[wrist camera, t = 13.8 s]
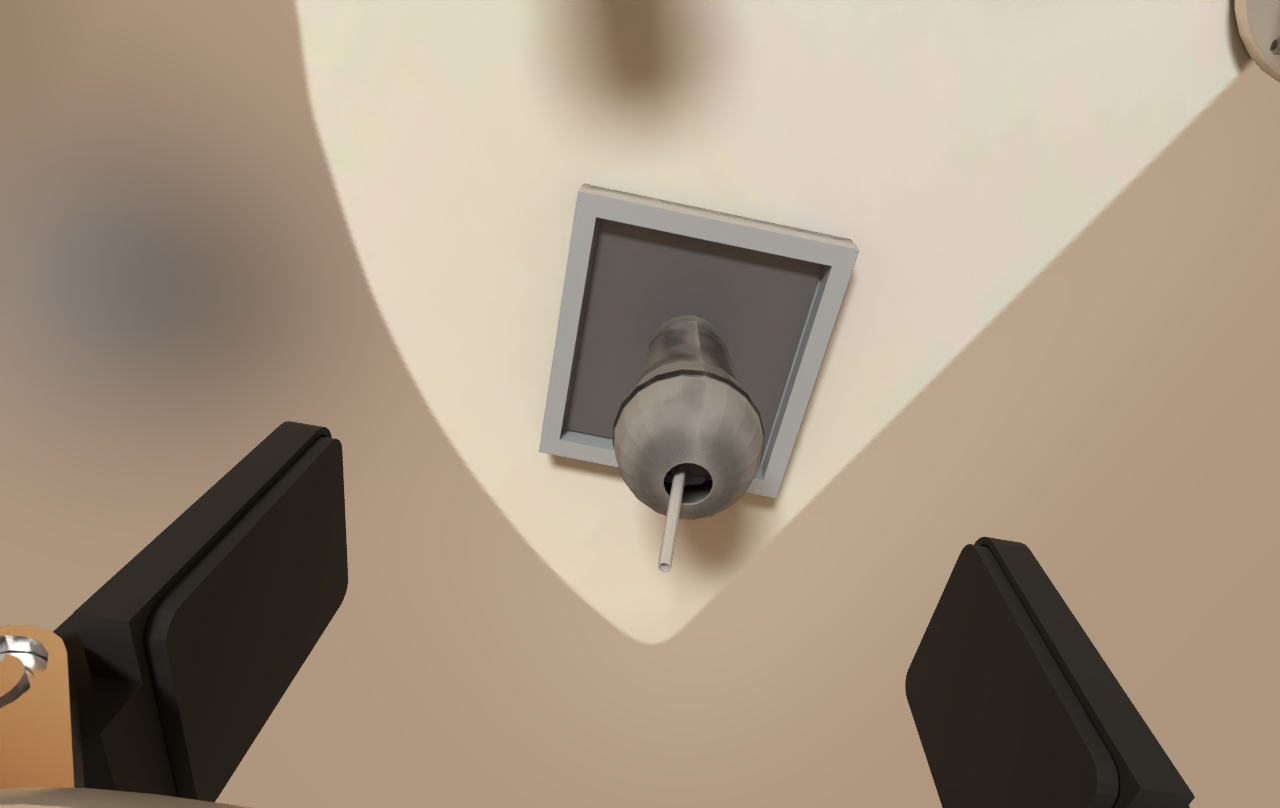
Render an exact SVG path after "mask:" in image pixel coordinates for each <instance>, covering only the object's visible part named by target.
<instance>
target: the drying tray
mask: <svg viewBox="0 0 1280 808" xmlns="http://www.w3.org/2000/svg"><path fill="white" fill-rule="evenodd" d="M858 253H859V249H858V248H857V246H856V245H855V244H854V243H853V242H852V241H851V240H850V239H846V238H841V237H836V236H832V235H827V234H822V233H817V232H813V231H808V230H803V229H798V228H793V227H789V226H784V225H779V224H774V223H770V222H765V221H760V220H755V219H750V218H746V217H741V216H736V215H731V214H727V213H722V212H717V211H712V210H707V209H703V208H698V207H693V206H688V205H684V204H679V203H674V202H669V201H664V200H660V199H655V198H650V197H645V196H641V195H636V194H631V193H626V192H621V191H617V190H612V189H607V188H602V187H598V186H593V185H588V184H583V185H582V187H581V188H580V189H579V191H578V195H577V202H576V208H575V215H574V222H573V228H572V235H571V242H570V248H569V255H568V262H567V268H566V275H565V282H564V288H563V295H562V302H561V308H560V315H559V322H558V328H557V335H556V342H555V348H554V355H553V362H552V368H551V375H550V382H549V388H548V395H547V402H546V408H545V415H544V422H543V429H542V435H541V442H540V449H539V452H542V453H547V454H552V455H557V456H563V457H568V458H573V459H578V460H583V461H588V462H593V463H598V464H603V465H608V466H614V467H619V466H618V463H617V460H616V456H615V450H614V447H613V423H614V421H615V418H616V416H617V413H618V411H619V408H620V406H621V404H622V402H623V401H624V400H625V399H626V398H627V396H628V395H629V393H630V392H631V391H632V389H633V388H634V387H635V384H636V381H637V379H638V376H639V373H640V370H641V367H642V365H643V362H644V359H645V356H646V354H647V351H648V348H649V346H650V343H651V341H652V339H653V338H654V336H655V333H656V331H657V330H658V329H659V328H660V327H661V326H662V324H664V323H665V322H667V321H668V320H670V319H672V318H674V317H678V316H682V315H691V316H698V317H700V318H703V319H706V320H707V321H709V322H710V323H711V324H712V325H714V326H715V327H716V329H717V330H718V332H719V333H720V335H721V337H722V340H723V341H724V343H725V344H726V347H727V349H728V352H729V355H730V357H731V360H732V363H733V365H734V368H735V371H736V373H737V376H738V378H739V381H740V384H741V386H742V388H743V390H744V391H745V392H746V393H747V394H748V395H749V397H750V398H751V400H752V401H753V403H754V404H755V406H756V407H757V409H758V410H759V412H760V415H761V419H762V423H763V428H764V432H765V435H764V443H763V450H762V455H761V458H760V465H759V469H758V471H757V473H756V475H755V477H754V479H753V481H752V482H751V484H750V486H749V488H748V490H747V491H746V493H751V494H756V495H761V496H767V497H772V498H776V497H777V494H778V491H779V488H780V485H781V482H782V479H783V476H784V473H785V470H786V467H787V464H788V461H789V458H790V455H791V452H792V449H793V446H794V443H795V440H796V437H797V434H798V432H799V429H800V426H801V423H802V420H803V417H804V414H805V411H806V408H807V405H808V402H809V399H810V396H811V393H812V390H813V387H814V384H815V381H816V378H817V375H818V372H819V369H820V366H821V363H822V360H823V357H824V354H825V351H826V348H827V345H828V342H829V339H830V336H831V333H832V330H833V327H834V324H835V321H836V318H837V315H838V312H839V309H840V307H841V304H842V301H843V298H844V295H845V292H846V289H847V286H848V283H849V280H850V277H851V274H852V271H853V268H854V265H855V262H856V259H857V256H858Z"/></svg>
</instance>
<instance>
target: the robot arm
mask: <svg viewBox="0 0 1280 808" xmlns="http://www.w3.org/2000/svg"><path fill="white" fill-rule="evenodd" d="M1235 15H1236V20H1237V25H1238V30H1239V35H1240V37H1241V39H1242V41H1243V43H1244V45H1245V47H1246V50H1247V52H1248V54H1249V55H1250V56H1251V58H1252V59H1253V60H1254V61H1255V62H1256V64H1257V65H1258V66H1259V67H1260V68H1261V69H1262V70H1263V71H1264V72H1265V73H1267V74H1268V75H1270V76H1272V77H1273V78H1274V79H1276V80H1277V81H1279V82H1280V0H1235ZM342 459H343V458H342V445H341V443H340V441H339V440H338V439H333V438H332V437H331V433H330V431H329V430H328V429H327V428H326V427H321V426H315V425H308V424H303V423H296V422H290V421H289V422H284V423H283V424H281V425H280V426H279V427H278V428H277V429H275V430H274V431H273V432H272V433H271V434H270V435H269V436H268V437H267V438H265V439H264V440H263V441H262V442H261V443H260V444H259V445H258V446H257V447H256V448H254V449H253V450H252V451H251V452H250V453H249V454H248V455H247V456H246V457H244V458H243V459H242V460H241V461H240V462H239V463H238V464H237V465H236V466H235V467H233V468H232V469H231V470H230V471H229V472H228V473H227V474H226V475H225V476H224V477H222V478H221V479H220V480H219V481H218V482H217V483H216V484H215V485H214V486H213V487H211V488H210V489H209V490H208V491H207V492H206V493H205V494H204V495H203V496H201V497H200V498H199V499H198V500H197V501H196V502H195V503H194V504H193V505H192V506H190V508H188V509H187V510H186V511H185V512H184V513H183V514H182V515H181V516H179V517H178V518H177V519H176V520H175V521H174V522H173V523H172V524H171V525H169V526H168V527H167V528H166V529H165V530H164V531H163V532H162V533H161V534H160V535H158V536H157V537H156V538H155V539H154V540H153V541H152V542H151V543H150V544H148V545H147V546H146V547H145V548H144V549H143V550H142V551H141V552H140V553H139V554H137V555H136V556H135V557H134V558H133V559H132V560H131V561H130V562H129V563H128V564H126V565H125V566H124V567H123V568H122V569H121V570H120V571H119V572H118V573H116V574H115V576H113V577H112V578H111V579H110V580H109V581H108V582H107V583H106V584H104V585H103V586H102V587H101V588H100V589H99V590H98V591H97V592H96V593H94V594H93V595H92V596H91V597H90V598H89V599H88V600H87V601H86V602H85V603H83V605H81V606H80V607H79V608H78V609H77V610H76V611H75V612H74V613H73V614H72V615H71V616H70V617H69V618H68V619H67V620H66V621H64V622H63V623H62V624H61V625H60V626H59V627H58V628H57V629H56V630H54V631H53V632H52V631H51V630H48V629H44V628H40V627H35V626H31V625H15V626H14V625H7V626H2V627H0V808H250V807H244V806H236V805H229V804H222V803H215V801H216V799H217V798H218V796H219V795H220V793H221V792H222V790H223V789H224V787H225V785H226V784H227V782H228V781H229V779H230V778H231V776H232V774H233V773H234V771H235V770H236V768H237V766H238V765H239V764H240V762H241V760H242V759H243V757H244V755H245V754H246V753H247V751H248V749H249V748H250V746H251V744H252V743H253V741H254V740H255V738H256V737H257V735H258V734H259V732H260V731H261V729H262V727H263V726H264V724H265V723H266V721H267V720H268V718H269V716H270V715H271V713H272V712H273V710H274V709H275V707H276V705H277V704H278V702H279V701H280V699H281V698H282V696H283V694H284V693H285V691H286V690H287V688H288V686H289V685H290V684H291V682H292V680H293V679H294V677H295V676H296V674H297V673H298V671H299V669H300V668H301V666H302V665H303V663H304V662H305V660H306V658H307V657H308V655H309V654H310V652H311V651H312V649H313V648H314V646H315V644H316V643H317V641H318V640H319V638H320V636H321V635H322V633H323V632H324V630H325V629H326V627H327V626H328V624H329V622H330V621H331V619H332V618H333V616H334V614H335V613H336V611H337V610H338V608H339V607H340V605H341V603H342V601H343V599H344V596H345V594H346V590H347V585H348V568H347V545H346V522H345V501H344V479H343V460H342ZM905 686H906V696H907V700H908V703H909V706H910V709H911V712H912V715H913V718H914V721H915V724H916V727H917V731H918V734H919V737H920V739H921V743H922V746H923V749H924V752H925V755H926V758H927V761H928V764H929V767H930V770H931V773H932V777H933V780H934V783H935V786H936V789H937V792H938V795H939V798H940V801H941V804H942V807H943V808H1190V807H1189V806H1188V805H1189V804H1190V802H1191V801H1192V800H1193V799H1194V798H1195V797H1194V795H1193V793H1192V792H1191V790H1190V789H1189V787H1188V786H1187V784H1186V783H1185V781H1184V780H1183V778H1182V777H1181V775H1180V774H1179V772H1178V771H1177V769H1176V768H1175V767H1174V765H1173V763H1172V762H1171V760H1170V759H1169V757H1168V756H1167V755H1166V753H1165V751H1164V750H1163V749H1162V747H1161V745H1160V744H1159V742H1158V741H1157V740H1156V738H1155V736H1154V735H1153V734H1152V732H1151V730H1150V729H1149V727H1148V726H1147V724H1146V723H1145V721H1144V720H1143V719H1142V717H1141V715H1140V714H1139V712H1138V711H1137V710H1136V708H1135V707H1134V705H1133V704H1132V702H1131V701H1130V699H1129V698H1128V696H1127V695H1126V693H1125V692H1124V690H1123V689H1122V687H1121V686H1120V684H1119V683H1118V681H1117V680H1116V678H1115V677H1114V675H1113V674H1112V672H1111V671H1110V669H1109V668H1108V666H1107V665H1106V663H1105V662H1104V660H1103V659H1102V657H1101V656H1100V654H1099V653H1098V651H1097V650H1096V648H1095V647H1094V645H1093V644H1092V642H1091V641H1090V639H1089V638H1088V636H1087V635H1086V633H1085V632H1084V630H1083V629H1082V627H1081V626H1080V624H1079V623H1078V621H1077V620H1076V618H1075V617H1074V615H1073V614H1072V612H1071V611H1070V609H1069V608H1068V606H1067V605H1066V603H1065V602H1064V600H1063V599H1062V597H1061V596H1060V594H1059V593H1058V591H1057V590H1056V588H1055V587H1054V585H1053V584H1052V582H1051V581H1050V579H1049V578H1048V576H1047V575H1046V574H1045V572H1044V570H1043V569H1042V567H1041V566H1040V564H1039V563H1038V561H1037V560H1036V558H1035V557H1034V555H1033V554H1032V552H1031V551H1030V549H1029V548H1028V547H1027V546H1026V545H1025V544H1022V543H1019V542H1013V541H1007V540H1001V539H995V538H989V537H982V538H980V539H978V540H977V541H976V542H975V544H974V545H972V544H969V545H966V546H965V547H964V548H963V550H962V551H961V553H960V555H959V558H958V560H957V562H956V564H955V567H954V569H953V571H952V573H951V576H950V578H949V580H948V582H947V584H946V587H945V589H944V591H943V593H942V596H941V598H940V600H939V603H938V605H937V607H936V609H935V612H934V614H933V616H932V618H931V620H930V623H929V625H928V627H927V629H926V632H925V634H924V636H923V638H922V640H921V643H920V645H919V647H918V650H917V652H916V654H915V656H914V658H913V661H912V663H911V665H910V667H909V669H908V672H907V676H906V685H905Z"/></svg>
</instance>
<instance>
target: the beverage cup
mask: <svg viewBox="0 0 1280 808" xmlns="http://www.w3.org/2000/svg"><path fill="white" fill-rule="evenodd" d="M764 435H765V432H764V428H763V423H762V419H761V415H760V412H759V410H758V409H757V407H756V406H755V404H754V403H753V401H752V400H751V398H750V397H749V395H748V394H747V393H746V392H745V391H744V390H743V388H742V386H741V384H740V381H739V378H738V376H737V373H736V371H735V368H734V365H733V363H732V360H731V357H730V355H729V352H728V349H727V347H726V344H725V343H724V341H723V340H722V337H721V335H720V333H719V332H718V330H717V329H716V327H715V326H714V325H712V324H711V323H710V322H709V321H707V320H706V319H703V318H700V317H698V316H691V315H682V316H678V317H674V318H672V319H670V320H668V321H667V322H665V323H664V324H662V326H661V327H660V328H659V329H658V330H657V331H656V333H655V336H654V338H653V339H652V341H651V343H650V346H649V348H648V351H647V354H646V356H645V359H644V362H643V365H642V367H641V370H640V373H639V376H638V379H637V381H636V384H635V387H634V388H633V389H632V391H631V392H630V393H629V395H628V396H627V398H626V399H625V400H624V401H623V402H622V404H621V406H620V408H619V411H618V413H617V416H616V418H615V421H614V423H613V447H614V450H615V456H616V460H617V463H618V466H619V469H620V472H621V475H622V478H623V480H624V482H625V483H626V485H627V486H628V487H629V488H630V490H631V491H632V492H633V494H634V495H635V496H636V497H637V499H638V500H640V501H641V502H643V503H644V504H645V505H647V506H648V507H650V508H651V509H653V510H654V511H656V512H657V513H660V514H663V515H666V522H665V528H664V534H663V539H662V545H661V551H660V557H659V563H658V568H659V570H661V571H663V572H667V571H669V570H670V569H671V566H672V560H673V553H674V547H675V540H676V534H677V527H678V521H679V519H692V520H694V519H699V518H704V517H709V516H713V515H715V514H717V513H719V512H721V511H723V510H725V509H727V508H729V507H730V506H732V505H733V504H734V503H735V502H736V501H737V500H738V499H739V498H740V497H741V496H742V495H743V494H744V493H745V492H746V491H747V490H748V488H749V486H750V484H751V482H752V481H753V479H754V477H755V475H756V473H757V471H758V469H759V465H760V458H761V455H762V450H763V443H764Z"/></svg>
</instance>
